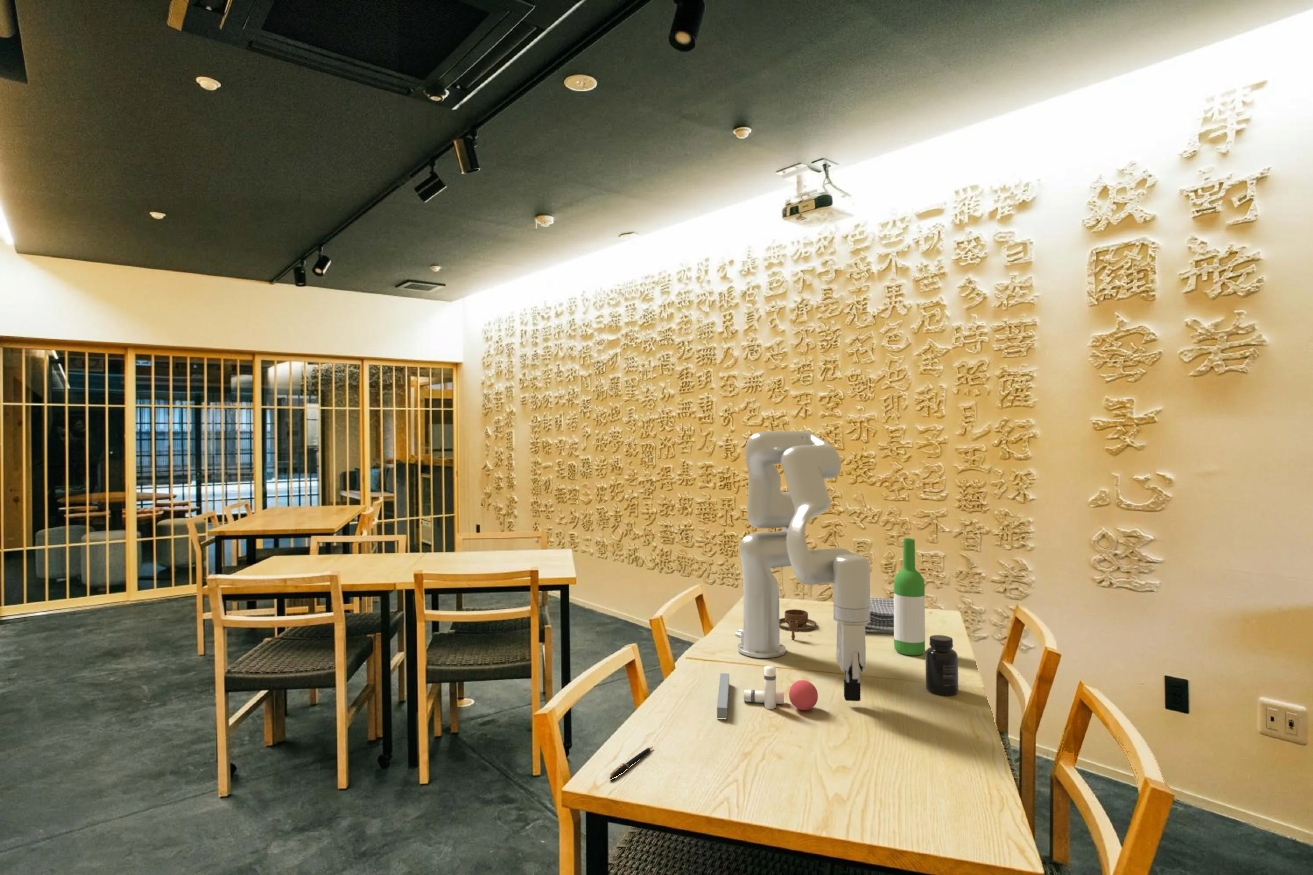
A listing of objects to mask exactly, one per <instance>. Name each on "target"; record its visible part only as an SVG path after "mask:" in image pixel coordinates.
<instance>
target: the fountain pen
mask: <svg viewBox="0 0 1313 875" xmlns="http://www.w3.org/2000/svg"><path fill="white" fill-rule="evenodd" d="M653 748H654V745H652V746H650V747H647V748H646V749H643V750H642V751H641V752H640V753H638V754H636V755H635V756H634V757H632V758H631V759H629V760H628V761H627V762H625V763H624V762H622V763H620V764H619V765H618V766H617V767H615V769H614V770H613V771H612V772H611V773H610V774H609V775H610V776H609V779H612V778H614V777H616V776H618V775H619V774H621V773H623V772H624V771H625V770H626V769H628V768H629V767H630V766H631V765H632V764H634V763H635V762H637V761H638V760H639V759H641V758H642V757H643V756H644V755H646V754H647V753H648V752H649V753H650V752H651V750H652V749H653ZM649 753H648V754H649ZM648 754H647V755H648ZM647 755H646V756H647ZM644 757H645V756H644ZM644 757H643V758H644ZM643 758H642V759H643ZM642 759H641V760H642ZM638 762H639V761H638ZM638 762H637V763H638Z"/></svg>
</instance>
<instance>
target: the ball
mask: <svg viewBox="0 0 1313 875" xmlns="http://www.w3.org/2000/svg"><path fill="white" fill-rule="evenodd" d="M788 698H789V701H790V703H791V704H792V706H793V707H794V708H795V709H798V710H801V711H809V710H812V709H813V708H814V707H815V706H816V705H817V702H818V699H819V693H818V690H817V687H816V686H815V685H814V684H813V683H812V682H811V681H809V680H807V679H806V680H805V679H800V680H797V681H795V682H793V683H792V684H791V686H790V687H789V691H788Z"/></svg>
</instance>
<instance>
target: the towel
mask: <svg viewBox="0 0 1313 875" xmlns="http://www.w3.org/2000/svg"><path fill="white" fill-rule="evenodd" d="M867 632H877V633H876V634H892V633H894V597H891V598H890V597H889V598H881V597H880V598H879V597H878V598H876V597H875V598H874V597H870V623H868V624H865V633H867Z"/></svg>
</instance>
